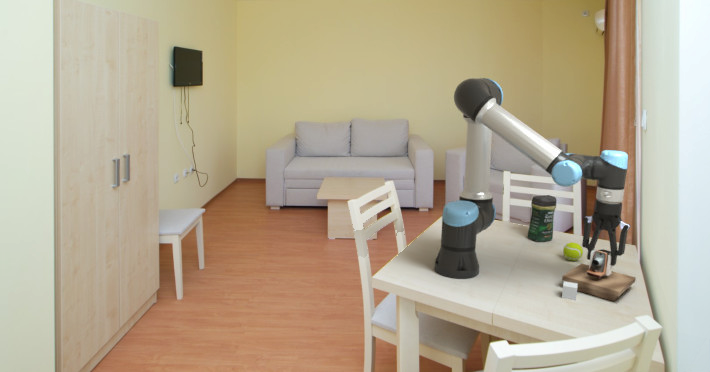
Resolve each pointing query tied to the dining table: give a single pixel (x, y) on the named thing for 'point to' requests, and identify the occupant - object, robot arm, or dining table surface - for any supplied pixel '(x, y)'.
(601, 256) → the electronic device
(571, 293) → the grey block
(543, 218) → the coffee jar
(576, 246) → the tennis ball
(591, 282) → the stand
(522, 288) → the dining table surface
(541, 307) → the dining table surface
